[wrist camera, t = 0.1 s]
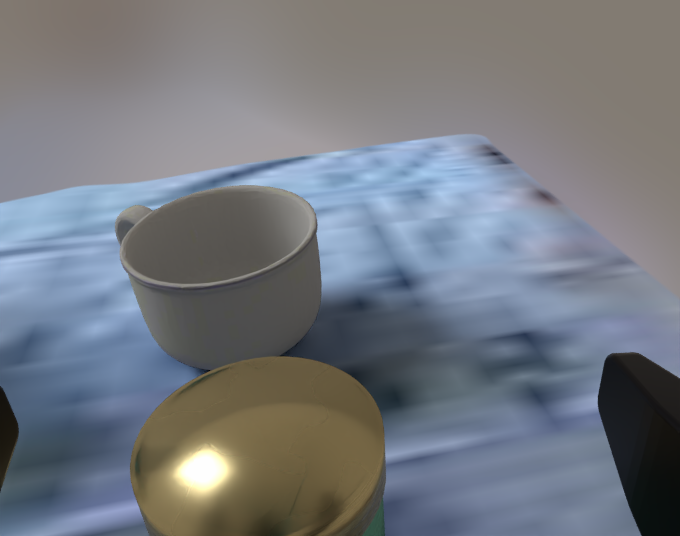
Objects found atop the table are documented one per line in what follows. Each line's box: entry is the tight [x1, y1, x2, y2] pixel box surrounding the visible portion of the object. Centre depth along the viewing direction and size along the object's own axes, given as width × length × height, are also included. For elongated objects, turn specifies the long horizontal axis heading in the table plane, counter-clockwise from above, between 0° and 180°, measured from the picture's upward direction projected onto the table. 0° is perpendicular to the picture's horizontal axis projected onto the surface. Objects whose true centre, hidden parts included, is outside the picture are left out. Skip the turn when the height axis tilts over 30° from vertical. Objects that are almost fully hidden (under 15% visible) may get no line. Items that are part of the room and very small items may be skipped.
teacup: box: [115, 185, 321, 370], centre depth 37 cm, size 14×11×8 cm
